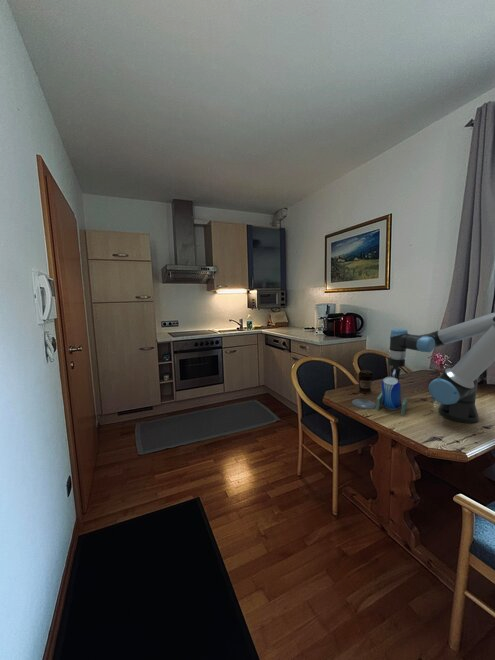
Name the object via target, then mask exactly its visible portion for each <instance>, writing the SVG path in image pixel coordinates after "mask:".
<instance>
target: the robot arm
mask: <svg viewBox="0 0 495 660" xmlns="http://www.w3.org/2000/svg"><path fill="white" fill-rule="evenodd" d="M480 335H481V337H480V338H479V339H478V341H476V343H475V344H473V345H472V347H471V348H470V349H469V350H468V351H467V352H466V353H465V354H464V355H463V356H462V357H461V358H460V359H459V361H458V362H457V363H456V364H455V365H454V366H453V367H450V368H448V367H447V368H446V369H444V371H443V372H442V373H441V374H440V375H439V376H438V377H437V378H434V379H432V381H430V383H429V385H428V391H429V395H430V396H431V398H433V400H435V401H436V402H438V403H440V405H439V407H438V411H437V412H438V414H440V415H439V416H442V417H444V418H446V419H448V420H451V421H454V422H459V423H464V424H475V422H476V423H478V422H477V421H479V413H478V410H477V407H476V398H477V390H478V384H479V383H478V382H479V377H480V375H482V374H483V373H484V372H485V371H486V370H488V368H489V367H491V365H492V364H494V362H495V312H492V313H488V314H485V315H483V316H482V315H481V316H479V317H476V318H473V319H470V320H467V321H463V322H460V323H457V324H455V325H451V326H449V327H445V328H441V329H439V330H435V331H432V332H430V333H425V334H424V333H423V334H419V335H417V334H410V333H408V329H404V328H392V329H391V331H390V335H389V336H390V337H389V350H388V351H387V353H388V357H389V358H388V365H389V366H390V367H391V369H390V372H391V373H390V377H394V378H396V379H397V380H398V382H399V383H400V375H401V371H402V368H403V367H405V364H406V354H407V350H411V351H416V352H422V353H431V352H433V350H435V348H439V347H441V346H445V345H448V344H452V343H455V342H460V341H462V340H463V341H464V340H467V339H470V338H474V337H478V336H480Z"/></svg>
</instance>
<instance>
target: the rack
mask: <svg viewBox="0 0 495 660" xmlns="http://www.w3.org/2000/svg"><path fill="white" fill-rule="evenodd" d="M408 400H409V397H408V396H404V398H403V401H402V402H401V410H400V411H401V412H400V416H401V417H404V416H405V414H406V413H407V408H408V403H409V402H408ZM383 405H384V404H383V396H382V391H381V392H380V394H379V395H378V396H377V398H376V408H375V410H377V411H380V409H381V408H382V406H383Z"/></svg>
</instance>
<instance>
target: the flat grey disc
mask: <svg viewBox="0 0 495 660" xmlns="http://www.w3.org/2000/svg"><path fill="white" fill-rule="evenodd" d="M351 401H352V402H351V404H352V405H353V406H354V407H356V408H358V409H363V410H373V409H376V406H377V403H375V402H374V401H372V400H369V399H366V398H355V399H353V400H351Z"/></svg>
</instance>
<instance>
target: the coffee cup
mask: <svg viewBox="0 0 495 660" xmlns="http://www.w3.org/2000/svg"><path fill="white" fill-rule="evenodd" d="M373 378H374V373H373V371H372V370H360V371H359V372H358V387H359V388H358V389H359V390H358V391H359V392H360V393H362V394H371V392H372V391H371V388H372V383H373Z"/></svg>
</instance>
